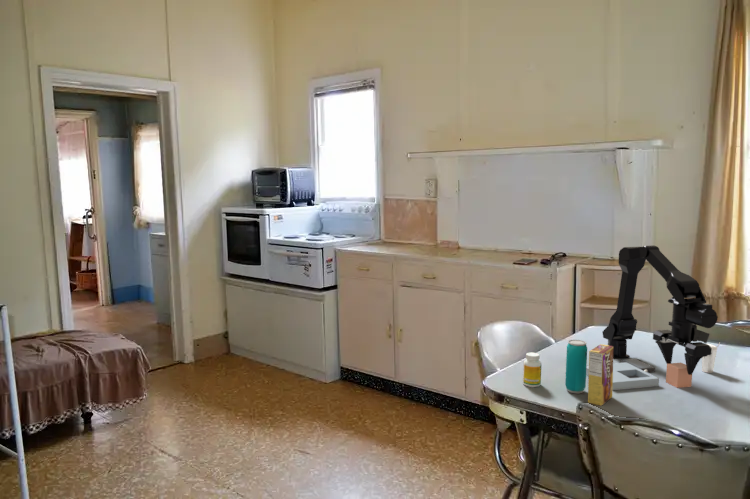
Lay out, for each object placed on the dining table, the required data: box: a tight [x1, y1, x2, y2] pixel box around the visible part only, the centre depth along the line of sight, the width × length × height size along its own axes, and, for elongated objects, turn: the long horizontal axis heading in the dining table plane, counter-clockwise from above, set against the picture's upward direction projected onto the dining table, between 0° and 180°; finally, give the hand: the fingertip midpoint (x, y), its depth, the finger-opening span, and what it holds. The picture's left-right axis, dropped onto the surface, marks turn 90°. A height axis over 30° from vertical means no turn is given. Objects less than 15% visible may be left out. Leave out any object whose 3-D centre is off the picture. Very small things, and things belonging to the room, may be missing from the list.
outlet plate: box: [586, 362, 660, 391], centre depth 191 cm, size 16×16×2 cm
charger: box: [665, 362, 693, 389], centre depth 187 cm, size 5×5×6 cm
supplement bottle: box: [522, 351, 542, 388], centre depth 186 cm, size 5×5×10 cm
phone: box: [620, 358, 656, 373], centre depth 203 cm, size 10×6×1 cm, turn 13°
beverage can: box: [564, 339, 588, 395], centre depth 180 cm, size 6×6×15 cm
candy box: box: [587, 343, 614, 407], centre depth 173 cm, size 9×4×15 cm, turn 140°
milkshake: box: [701, 342, 721, 374], centre depth 198 cm, size 4×5×10 cm
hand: (679, 369), depth 186 cm, fingers open, 9 cm apart
